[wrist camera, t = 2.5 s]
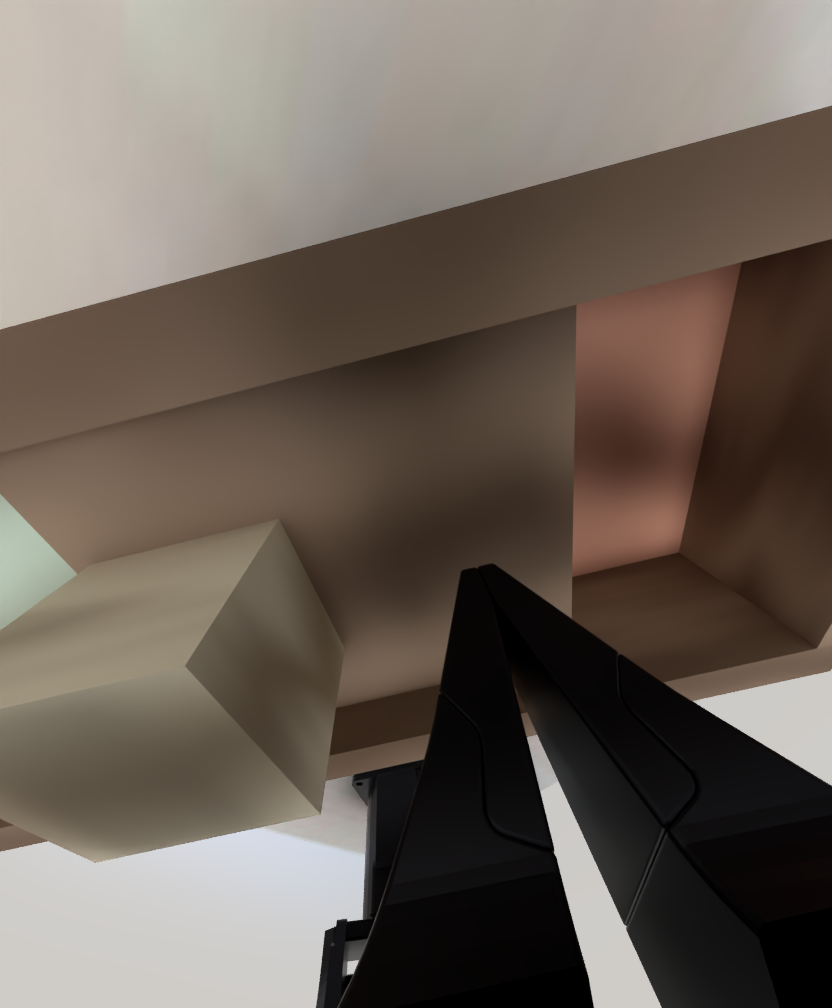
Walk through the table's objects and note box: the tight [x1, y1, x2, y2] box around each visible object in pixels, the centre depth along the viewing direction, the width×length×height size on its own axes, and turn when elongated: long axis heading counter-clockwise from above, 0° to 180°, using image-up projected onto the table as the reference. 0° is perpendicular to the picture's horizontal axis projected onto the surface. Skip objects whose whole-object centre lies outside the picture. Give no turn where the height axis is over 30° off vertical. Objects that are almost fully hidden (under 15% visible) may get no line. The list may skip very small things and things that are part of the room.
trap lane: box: [0, 106, 832, 851], centre depth 10 cm, size 14×36×6 cm, turn 103°
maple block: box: [0, 519, 344, 863], centre depth 7 cm, size 5×5×4 cm
